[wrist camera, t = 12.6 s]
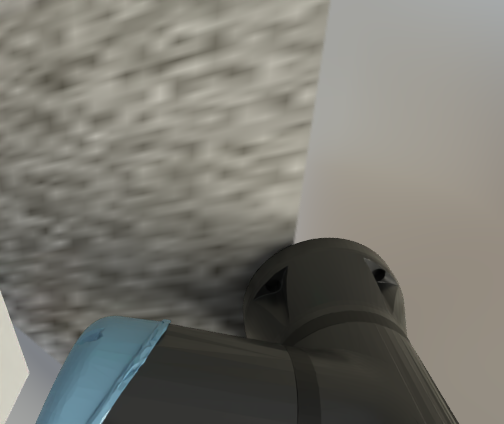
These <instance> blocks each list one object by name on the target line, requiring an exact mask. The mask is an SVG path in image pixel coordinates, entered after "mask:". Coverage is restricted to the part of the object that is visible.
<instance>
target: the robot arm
mask: <svg viewBox="0 0 504 424" xmlns="http://www.w3.org/2000/svg"><path fill="white" fill-rule="evenodd" d="M243 317H244V327H245V333H246V337H247V338H244V337H239V336H233V335H227V334H222V333H216V332H211V331H205V330H199V329H194V328H188V327H183V326H178V325H173V324H170V323H171V320H167V319H164V320H162V321H153V320H145V319H137V318H130V317H122V316H109V317H104V318H101V319H99V320H97V321H95V322H94V323H93V324H91V325H90V326H89V327H88V328H87V329H86V330H85V331H84V332H83V333H82V335H81V336H80V337H79V339H78V340H77V342H76V343H75V345H74V346H73V348H72V350H71V351H70V353H69V355H68V357H67V359H66V361H65V362H64V364H63V366H62V368H61V370H60V372H59V374H58V376H57V378H56V380H55V382H54V384H53V387H52V388H51V391H50V393H49V395H48V397H47V399H46V401H45V403H44V405H43V408H42V410H41V412H40V414H39V417H38V419H37V421H36V424H459V423H458V421H457V420H456V418H455V416H454V415H453V413H452V412H451V410H450V408H449V406H448V405H447V403H446V401H445V400H444V398H443V397H442V395H441V393H440V391H439V390H438V388H437V386H436V385H435V383H434V382H433V380H432V378H431V376H430V375H429V373H428V371H427V370H426V368H425V366H424V365H423V363H422V361H421V360H420V358H419V356H418V355H417V353H416V351H415V350H414V348H413V347H412V345H411V343H410V341H409V340H408V338H407V330H406V319H405V308H404V299H403V294H402V291H401V288H400V286H399V283H398V281H397V279H396V278H395V276H394V275H393V273H392V271H391V270H390V268H389V267H388V265H387V264H386V263H385V261H384V260H383V259H382V258H381V257H380V256H379V255H378V254H376V253H375V252H374V251H372V250H371V249H369V248H367V247H366V246H364V245H362V244H359V243H356V242H354V241H350V240H345V239H339V238H318V239H311V240H307V241H303V242H300V243H297V244H294V245H292V246H289V247H287V248H285V249H283V250H282V251H280V252H278V253H277V254H275V255H274V256H272V257H271V258H270V259H269V260H267V261H266V262H265V263H264V264H263V265H262V266H261V267H260V268H259V270H258V271H257V272H256V274H255V275H254V276H253V278H252V280H251V281H250V283H249V285H248V288H247V290H246V293H245V297H244V303H243ZM28 375H29V370H28V368H27V364H26V361H25V359H24V356H23V353H22V350H21V348H20V345H19V342H18V339H17V336H16V333H15V331H14V328H13V325H12V322H11V319H10V316H9V314H8V311H7V308H6V305H5V302H4V300H3V297H2V294H1V291H0V424H5V422H6V420H7V418H8V416H9V414H10V412H11V410H12V408H13V406H14V404H15V402H16V400H17V398H18V395H19V393H20V391H21V389H22V387H23V385H24V383H25V381H26V379H27V377H28Z"/></svg>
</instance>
